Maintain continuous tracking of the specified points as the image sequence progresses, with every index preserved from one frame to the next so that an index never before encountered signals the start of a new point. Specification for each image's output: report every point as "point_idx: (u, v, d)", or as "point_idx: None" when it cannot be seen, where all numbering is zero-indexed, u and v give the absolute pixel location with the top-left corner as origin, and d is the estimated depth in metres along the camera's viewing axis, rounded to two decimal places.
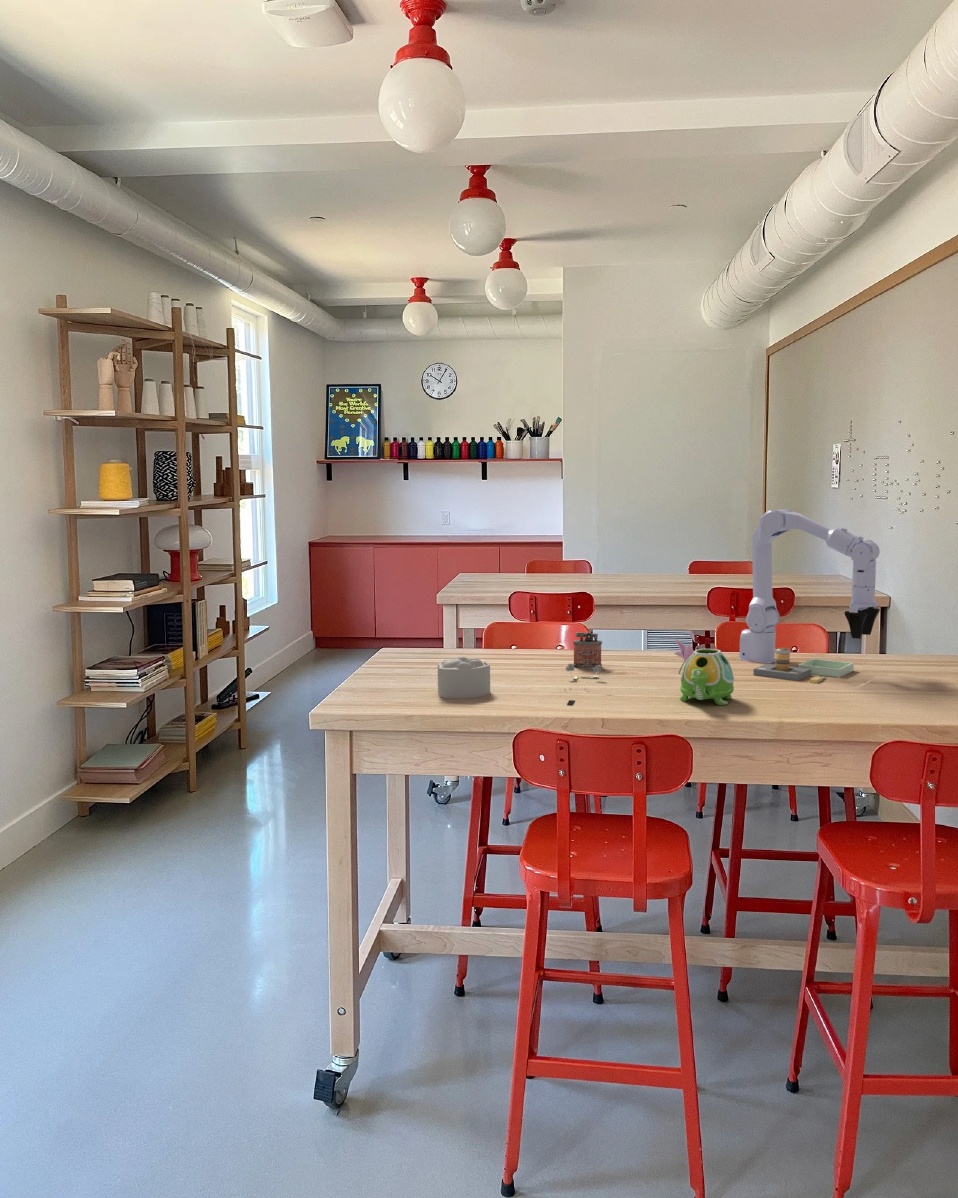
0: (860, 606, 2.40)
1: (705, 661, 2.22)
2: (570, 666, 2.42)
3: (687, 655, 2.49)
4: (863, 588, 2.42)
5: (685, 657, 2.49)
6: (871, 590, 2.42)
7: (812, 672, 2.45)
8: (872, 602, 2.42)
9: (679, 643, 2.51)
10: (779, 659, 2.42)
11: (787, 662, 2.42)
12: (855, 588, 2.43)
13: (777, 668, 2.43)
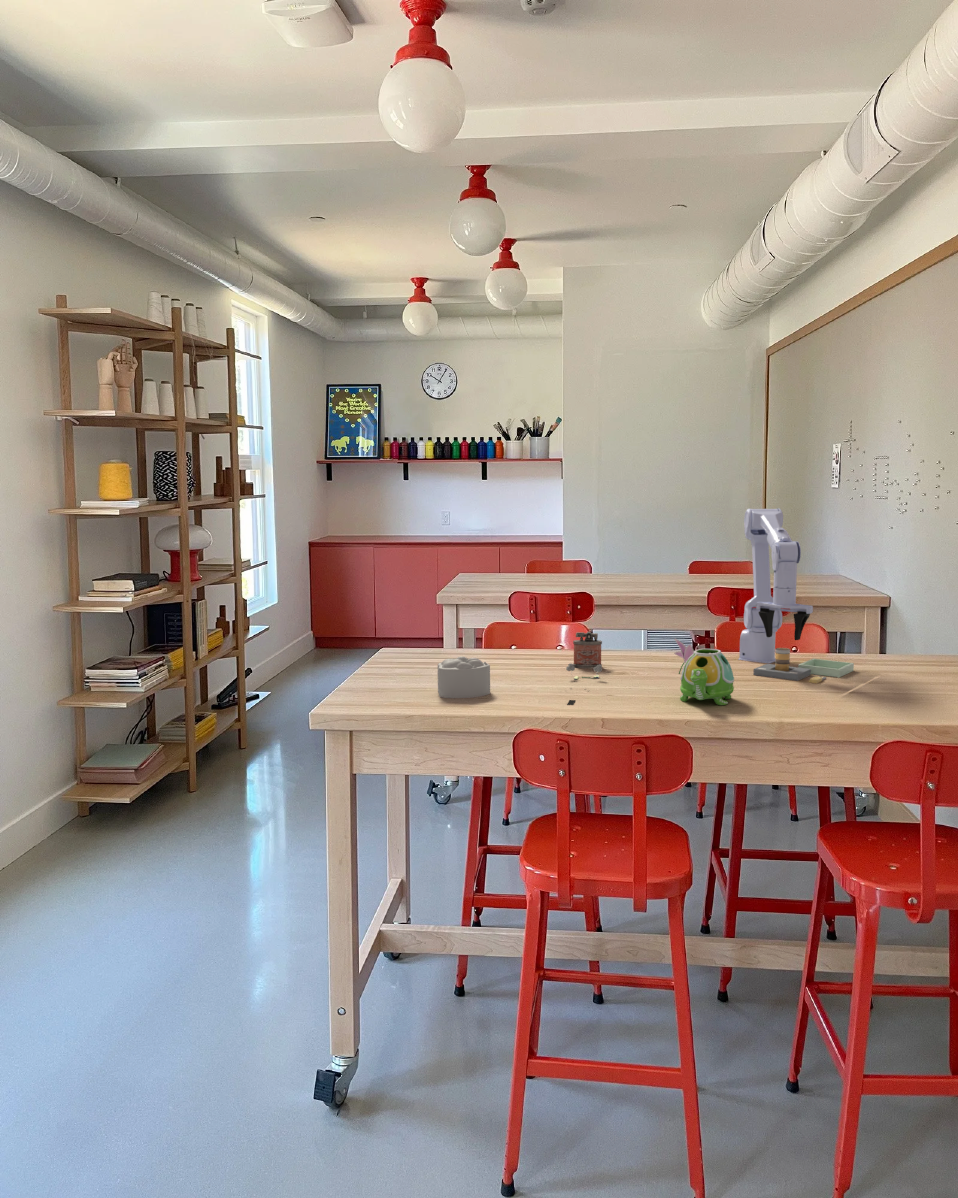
0: (762, 604, 2.44)
1: (705, 661, 2.22)
2: (571, 666, 2.43)
3: (687, 654, 2.49)
4: (773, 587, 2.42)
5: (685, 657, 2.49)
6: (776, 591, 2.40)
7: (812, 672, 2.45)
8: (777, 603, 2.40)
9: (679, 643, 2.51)
10: (779, 659, 2.42)
11: (787, 662, 2.42)
12: None
13: (777, 668, 2.43)
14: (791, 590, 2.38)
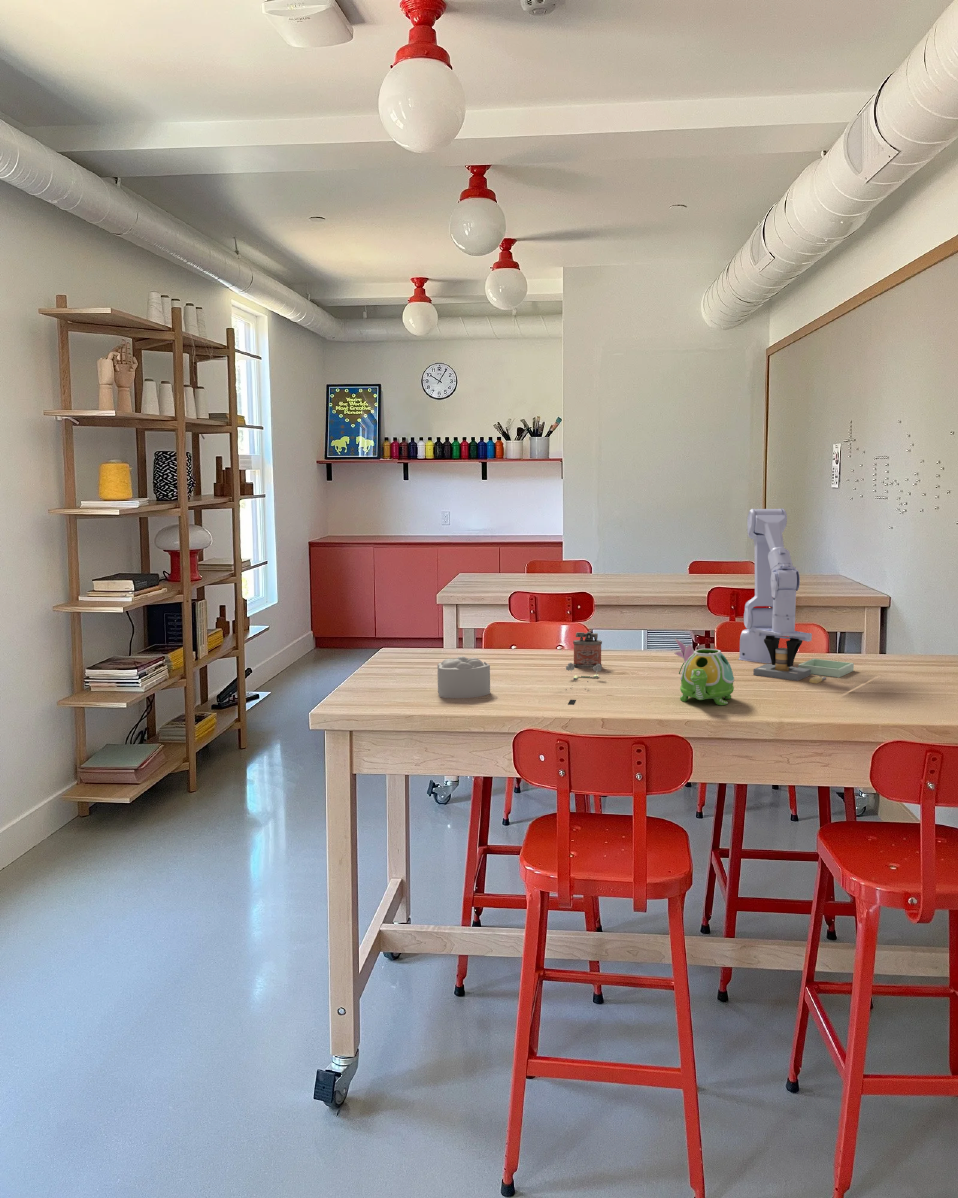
0: (761, 631, 2.45)
1: (705, 661, 2.22)
2: (570, 665, 2.43)
3: (688, 654, 2.49)
4: None
5: (685, 657, 2.50)
6: (775, 618, 2.41)
7: (812, 672, 2.45)
8: (776, 631, 2.41)
9: (679, 643, 2.51)
10: (779, 659, 2.42)
11: None
12: None
13: (777, 668, 2.43)
14: (790, 618, 2.39)
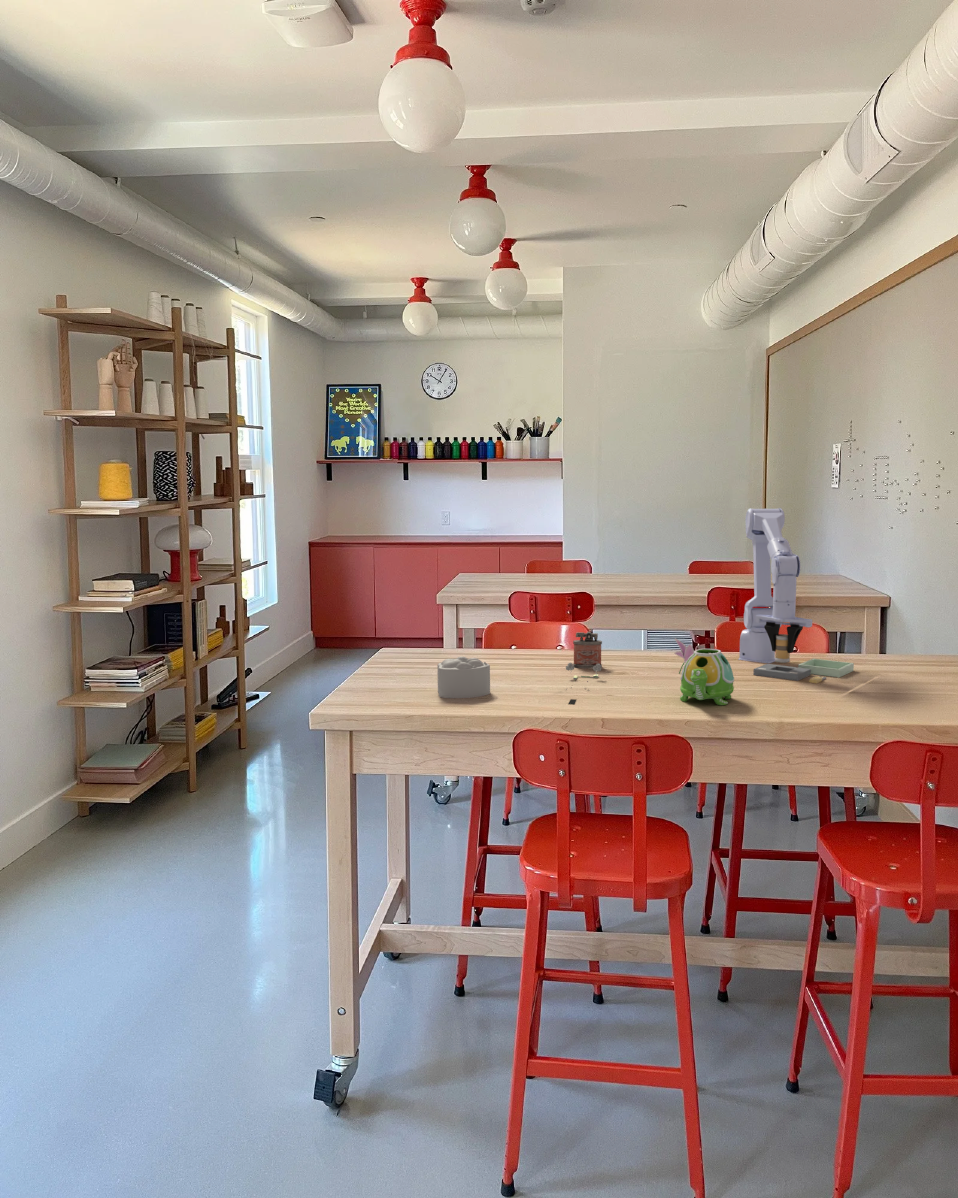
0: (762, 617, 2.45)
1: (705, 661, 2.22)
2: (570, 665, 2.43)
3: (688, 654, 2.49)
4: (773, 601, 2.42)
5: (685, 657, 2.50)
6: (775, 604, 2.40)
7: (812, 672, 2.45)
8: (777, 617, 2.40)
9: (679, 643, 2.51)
10: (779, 645, 2.42)
11: None
12: None
13: (777, 654, 2.42)
14: (791, 604, 2.39)
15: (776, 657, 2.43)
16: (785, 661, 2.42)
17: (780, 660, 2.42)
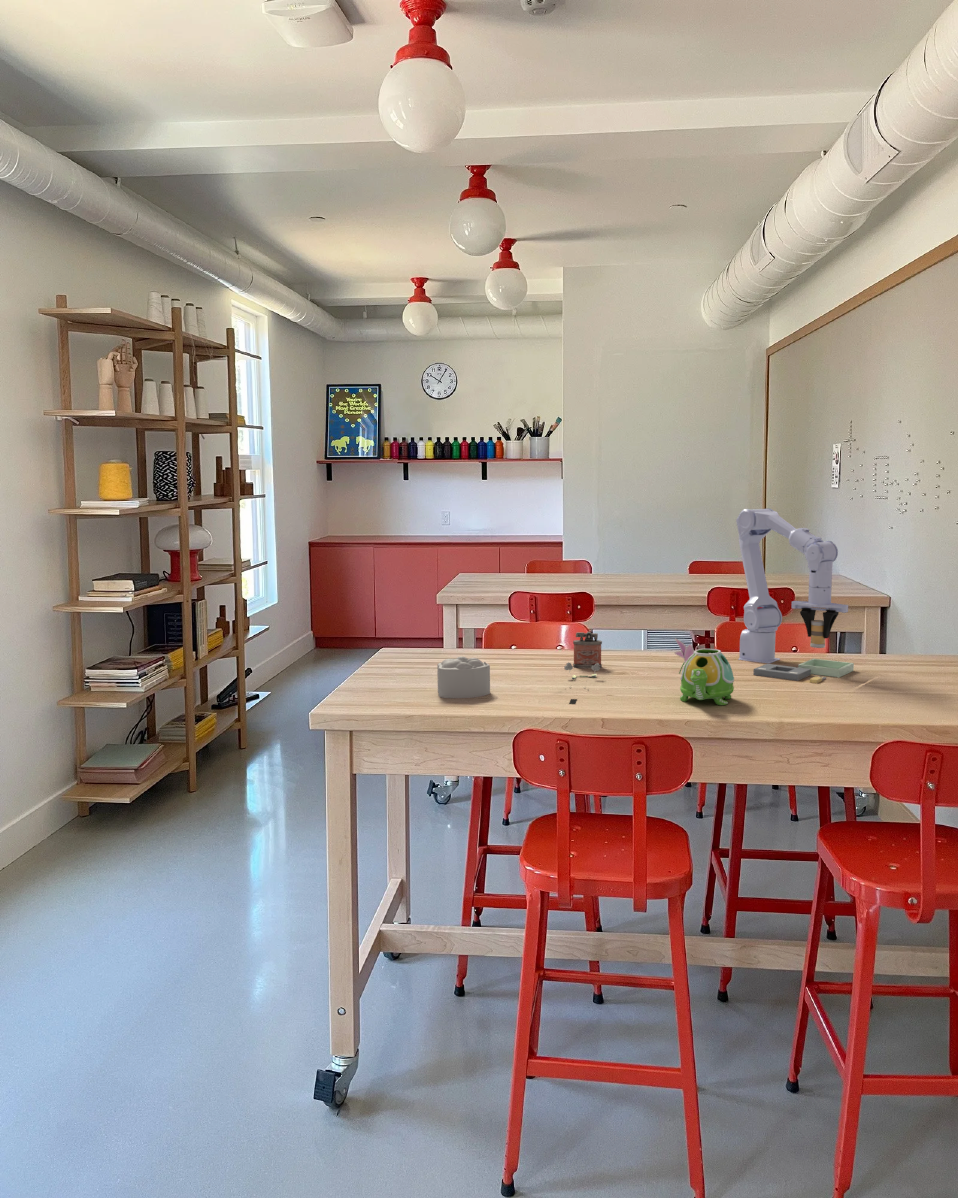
0: (797, 603, 2.47)
1: (705, 661, 2.22)
2: (569, 665, 2.44)
3: (688, 654, 2.49)
4: (809, 587, 2.45)
5: (685, 657, 2.50)
6: (811, 590, 2.43)
7: (812, 672, 2.45)
8: (813, 602, 2.43)
9: (679, 643, 2.51)
10: (814, 631, 2.44)
11: None
12: None
13: (812, 640, 2.45)
14: (827, 589, 2.41)
15: (811, 642, 2.46)
16: (820, 646, 2.44)
17: (815, 646, 2.44)
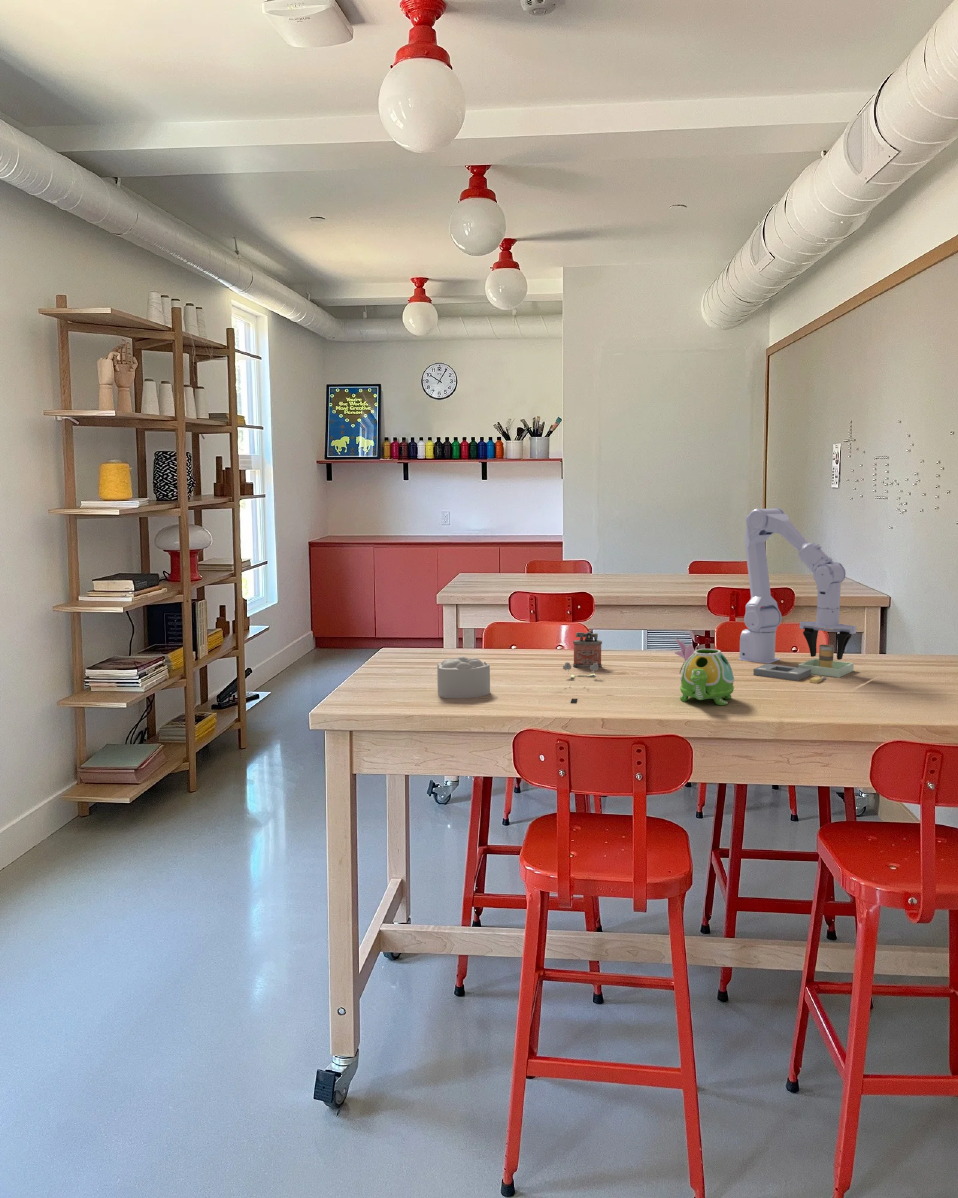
0: (805, 624, 2.49)
1: (705, 661, 2.22)
2: (567, 665, 2.44)
3: (688, 654, 2.49)
4: (817, 608, 2.47)
5: (686, 656, 2.50)
6: (820, 611, 2.45)
7: (812, 672, 2.45)
8: (821, 624, 2.45)
9: (679, 642, 2.51)
10: (823, 655, 2.46)
11: (831, 659, 2.46)
12: None
13: (821, 664, 2.47)
14: (835, 611, 2.43)
15: None
16: None
17: None
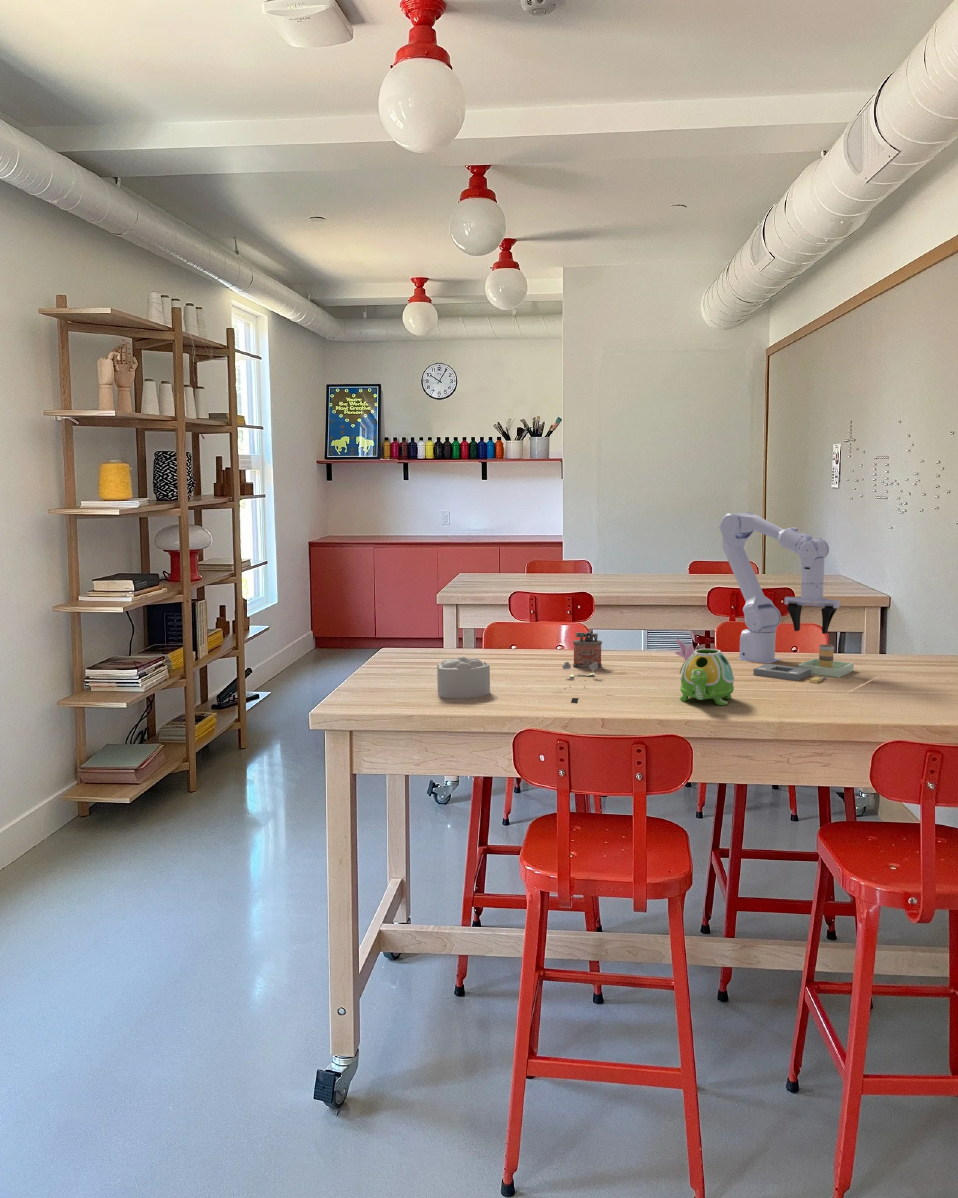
0: (790, 599, 2.53)
1: (705, 661, 2.22)
2: (567, 664, 2.45)
3: (688, 654, 2.50)
4: (801, 583, 2.51)
5: (686, 656, 2.50)
6: (804, 586, 2.49)
7: (812, 672, 2.45)
8: (805, 598, 2.49)
9: (679, 642, 2.52)
10: (823, 655, 2.46)
11: (831, 659, 2.46)
12: None
13: (821, 664, 2.47)
14: (819, 585, 2.48)
15: None
16: None
17: None
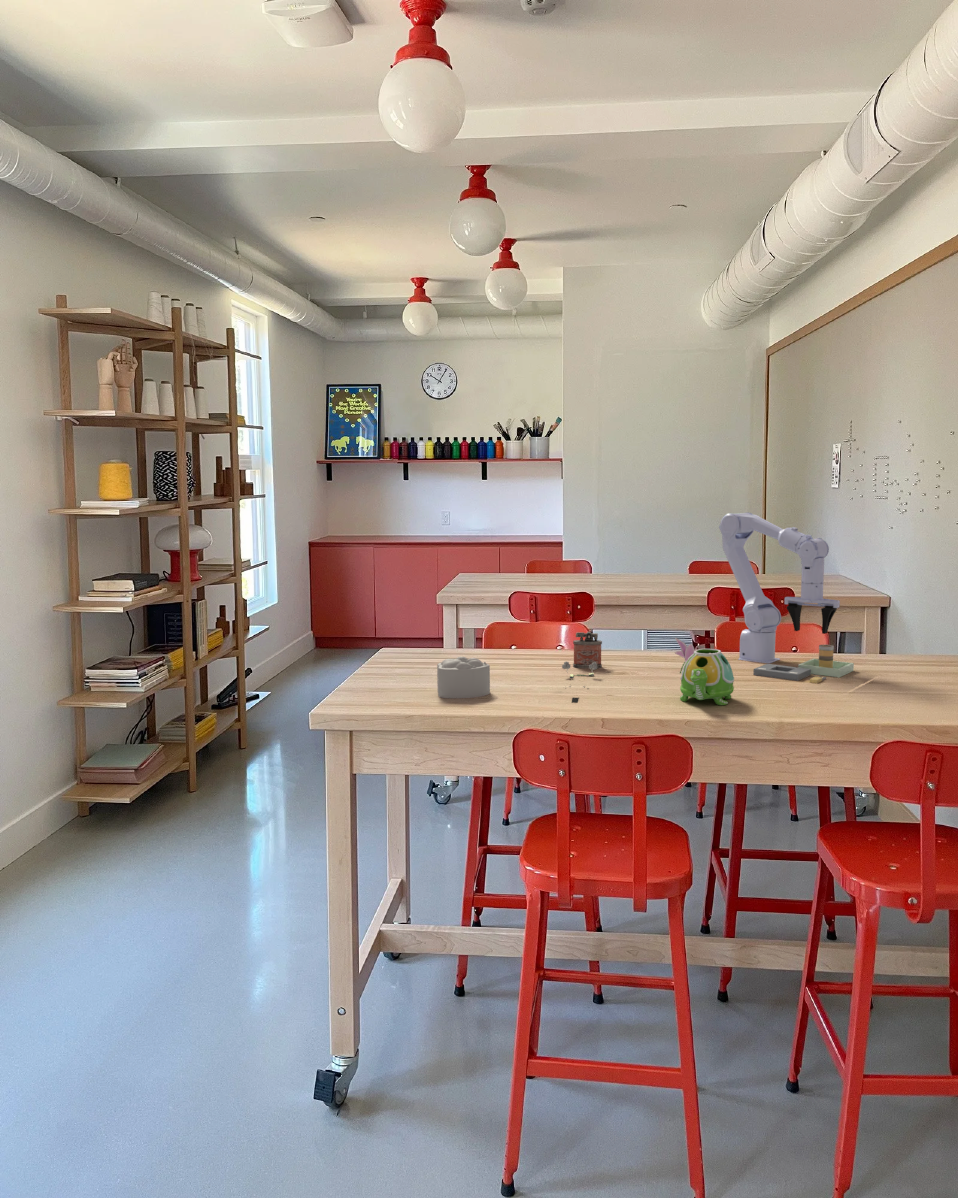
0: (790, 599, 2.53)
1: (705, 661, 2.22)
2: (566, 664, 2.45)
3: (688, 654, 2.50)
4: (801, 583, 2.51)
5: (686, 656, 2.50)
6: (804, 586, 2.49)
7: (812, 672, 2.45)
8: (805, 598, 2.49)
9: (680, 642, 2.52)
10: (822, 655, 2.46)
11: (831, 659, 2.46)
12: None
13: (820, 664, 2.47)
14: (819, 585, 2.48)
15: None
16: None
17: None
